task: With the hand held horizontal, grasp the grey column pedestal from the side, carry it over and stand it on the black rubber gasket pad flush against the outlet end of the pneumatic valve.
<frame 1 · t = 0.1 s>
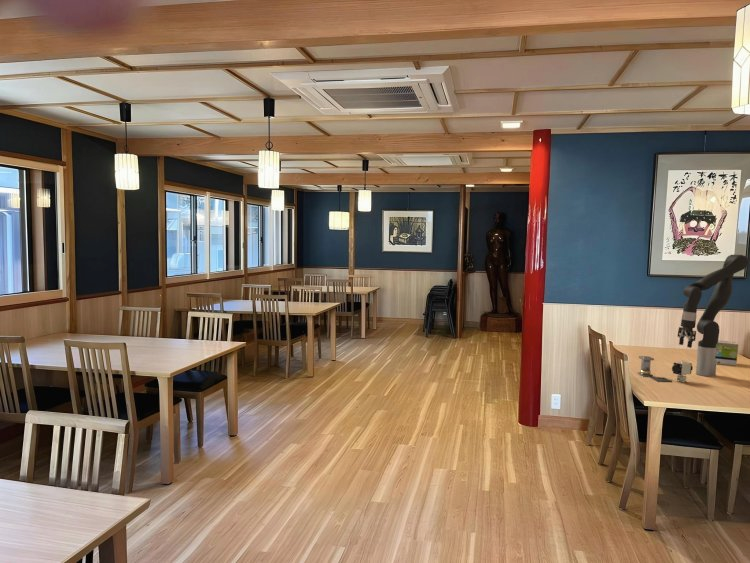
hand: (685, 346, 324), 17 cm above the table, tool pointing down, fingers open, 8 cm apart
grey column pedestal: (645, 375, 320), on the table
gasket pad: (660, 379, 310), on the table
tea box: (721, 363, 360), on the table
pneumatic valve: (680, 381, 308), on the table
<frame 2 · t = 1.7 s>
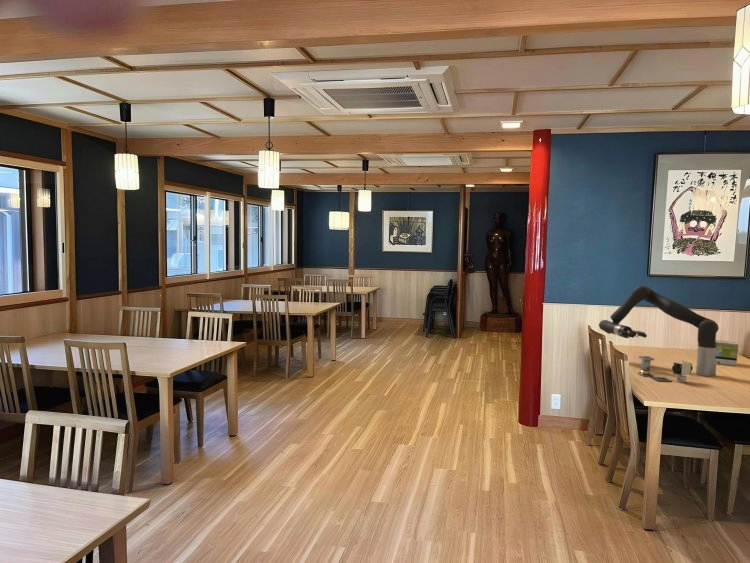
hand: (639, 335, 330), 22 cm above the table, tool horizontal, fingers open, 8 cm apart
nothing on the table moved.
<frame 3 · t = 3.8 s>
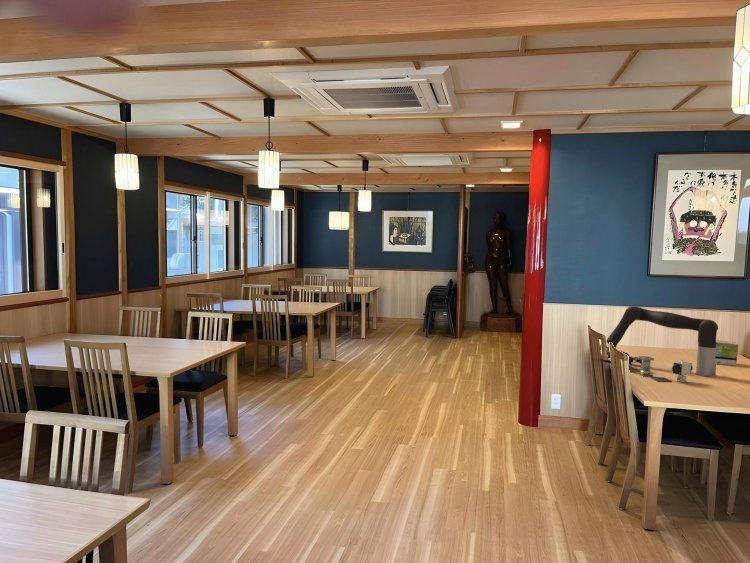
hand: (637, 362, 327), 6 cm above the table, tool horizontal, fingers open, 8 cm apart
nothing on the table moved.
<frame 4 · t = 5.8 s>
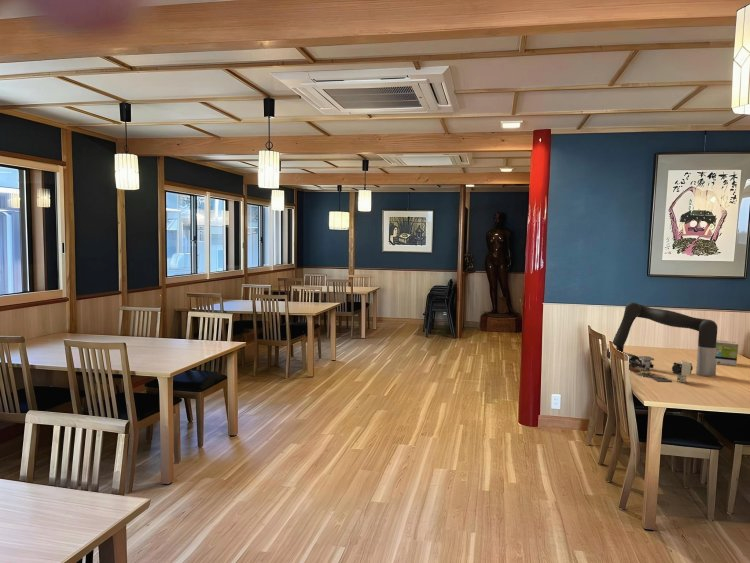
hand: (648, 366, 317), 6 cm above the table, tool horizontal, fingers closed on grey column pedestal, 5 cm apart
grey column pedestal: (645, 375, 320), on the table, touching gripper
everything else where it was.
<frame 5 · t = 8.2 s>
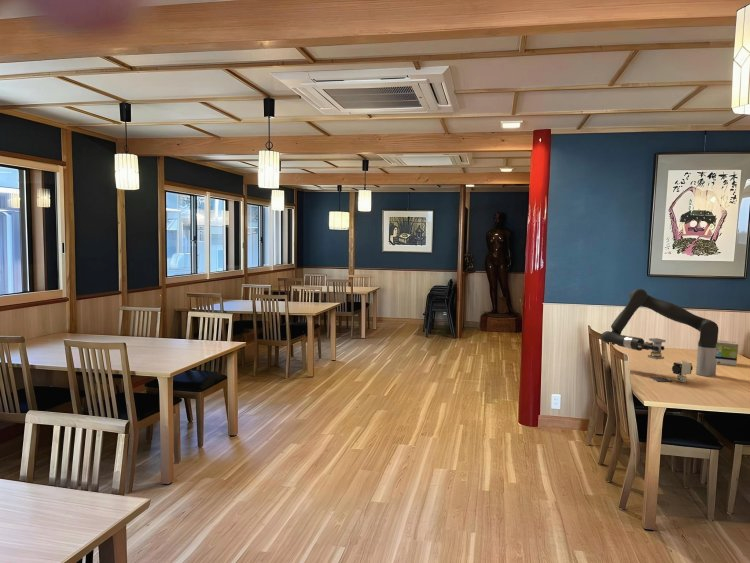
hand: (661, 348, 310), 18 cm above the table, tool horizontal, fingers closed on grey column pedestal, 4 cm apart
grey column pedestal: (655, 358, 313), point 12 cm above the table, touching gripper
everything else where it was.
when the fingers open (7 cm above the table, at t = 10.2 s): grey column pedestal stays where it is, resting on gasket pad.
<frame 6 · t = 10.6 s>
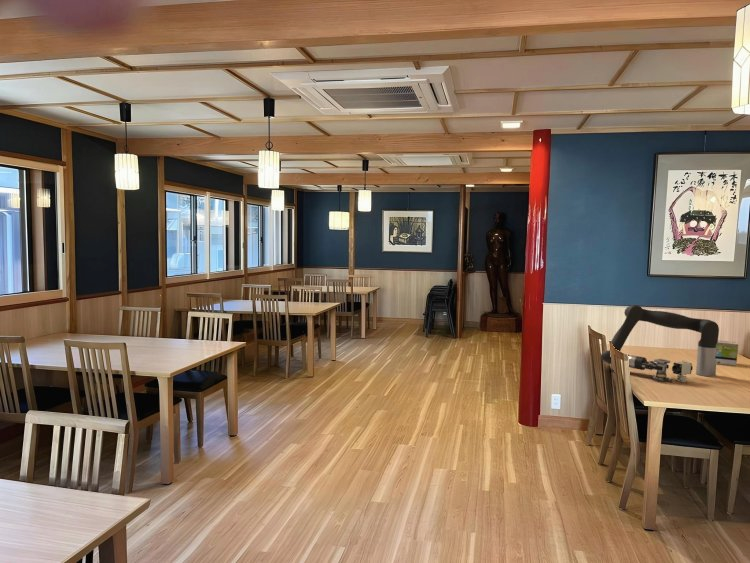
hand: (665, 367, 308), 8 cm above the table, tool horizontal, fingers open, 8 cm apart
grey column pedestal: (660, 379, 310), resting on gasket pad
everything else where it was.
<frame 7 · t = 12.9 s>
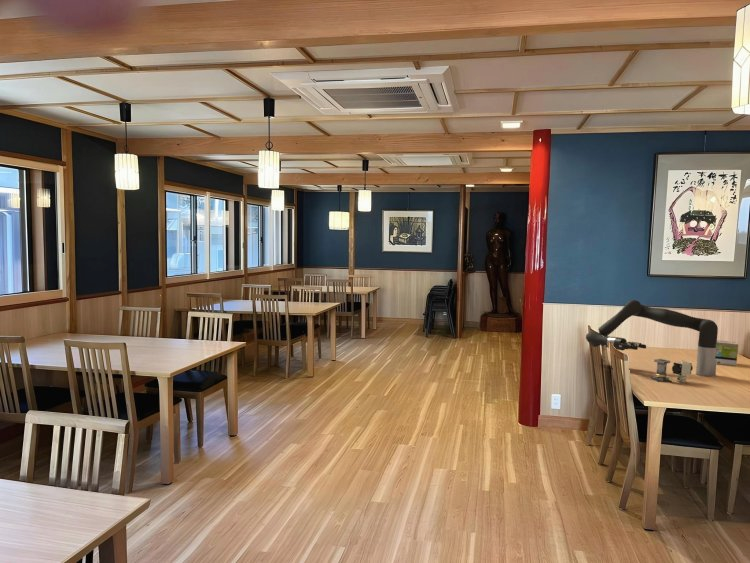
hand: (641, 347, 320), 17 cm above the table, tool horizontal, fingers open, 8 cm apart
nothing on the table moved.
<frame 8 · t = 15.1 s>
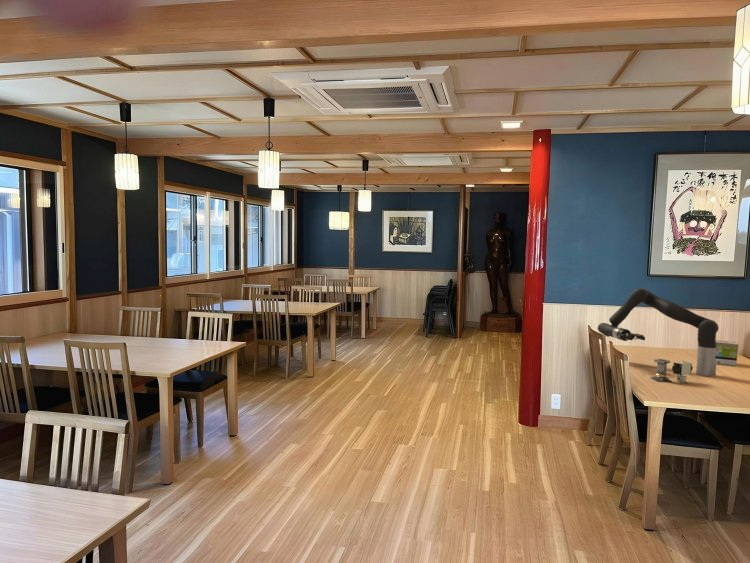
hand: (638, 338, 330), 20 cm above the table, tool horizontal, fingers open, 8 cm apart
nothing on the table moved.
at the end: grey column pedestal inside the target area (0.0 cm from its centre), point 0.5 cm above the table; grey column pedestal tilted 0°; grey column pedestal 10.4 cm from the pneumatic valve (horizontally) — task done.
